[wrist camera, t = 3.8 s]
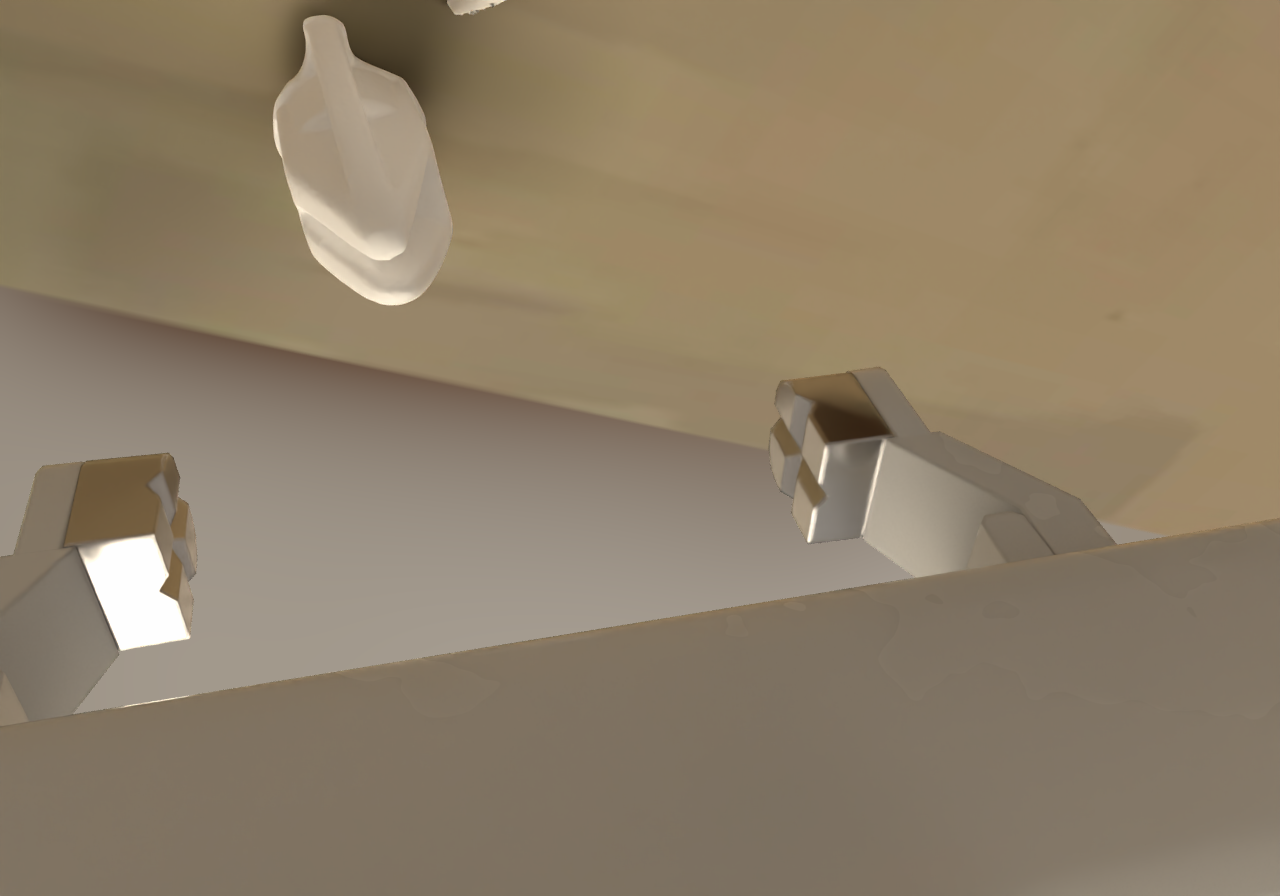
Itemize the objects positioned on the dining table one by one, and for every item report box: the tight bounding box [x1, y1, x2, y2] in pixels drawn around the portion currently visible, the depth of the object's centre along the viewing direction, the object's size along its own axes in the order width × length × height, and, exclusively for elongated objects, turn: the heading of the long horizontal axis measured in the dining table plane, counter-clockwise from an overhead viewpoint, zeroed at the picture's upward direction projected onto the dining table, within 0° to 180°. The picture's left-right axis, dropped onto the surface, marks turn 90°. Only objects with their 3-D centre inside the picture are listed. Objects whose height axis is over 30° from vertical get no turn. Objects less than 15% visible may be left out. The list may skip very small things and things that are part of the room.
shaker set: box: [273, 0, 505, 305], centre depth 25 cm, size 12×4×11 cm, turn 152°
